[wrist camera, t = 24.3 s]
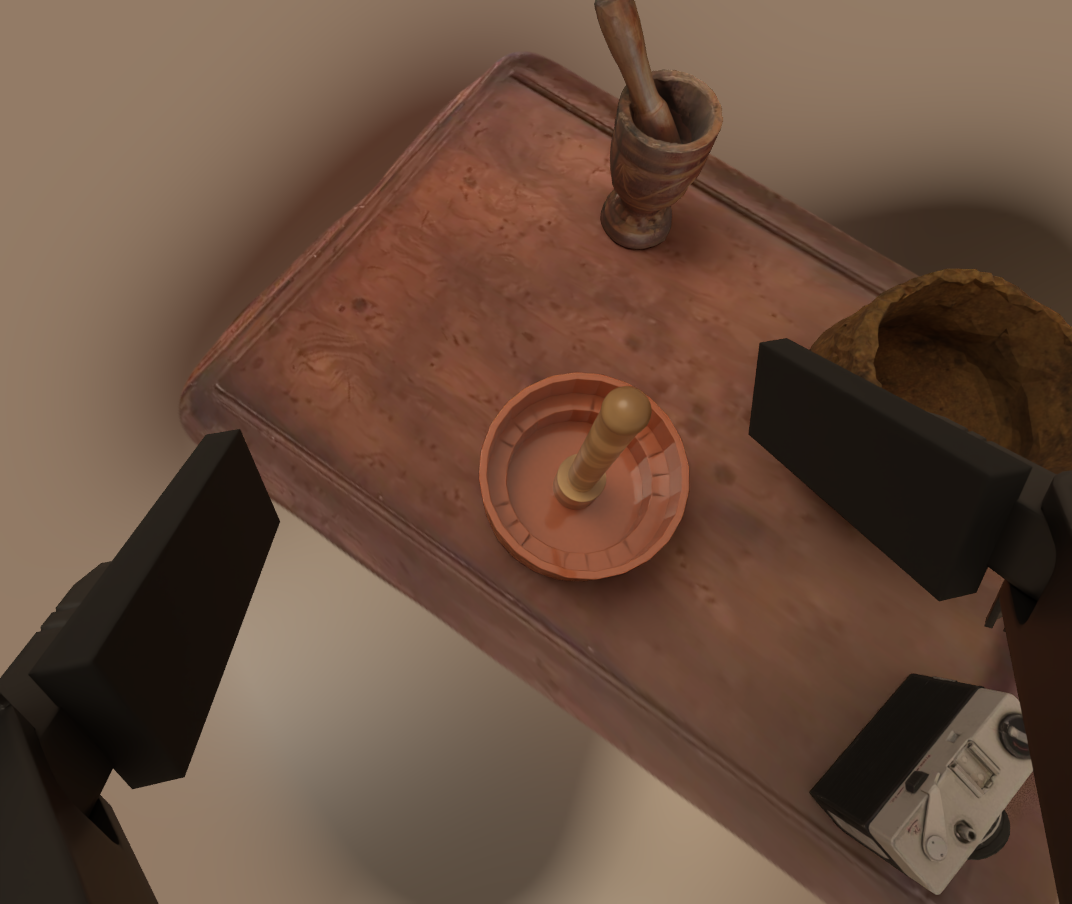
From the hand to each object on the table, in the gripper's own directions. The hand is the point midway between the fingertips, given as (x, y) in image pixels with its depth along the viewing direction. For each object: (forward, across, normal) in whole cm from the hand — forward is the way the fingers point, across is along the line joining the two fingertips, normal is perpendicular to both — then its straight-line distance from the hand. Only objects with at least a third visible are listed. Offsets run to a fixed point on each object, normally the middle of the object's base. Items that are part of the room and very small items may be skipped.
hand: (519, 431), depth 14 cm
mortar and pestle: (+46, +18, -2) cm, 49 cm away
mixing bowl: (+26, +7, -21) cm, 34 cm away
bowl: (+26, +34, -22) cm, 48 cm away
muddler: (+26, +7, -20) cm, 34 cm away
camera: (+7, +27, -40) cm, 49 cm away
